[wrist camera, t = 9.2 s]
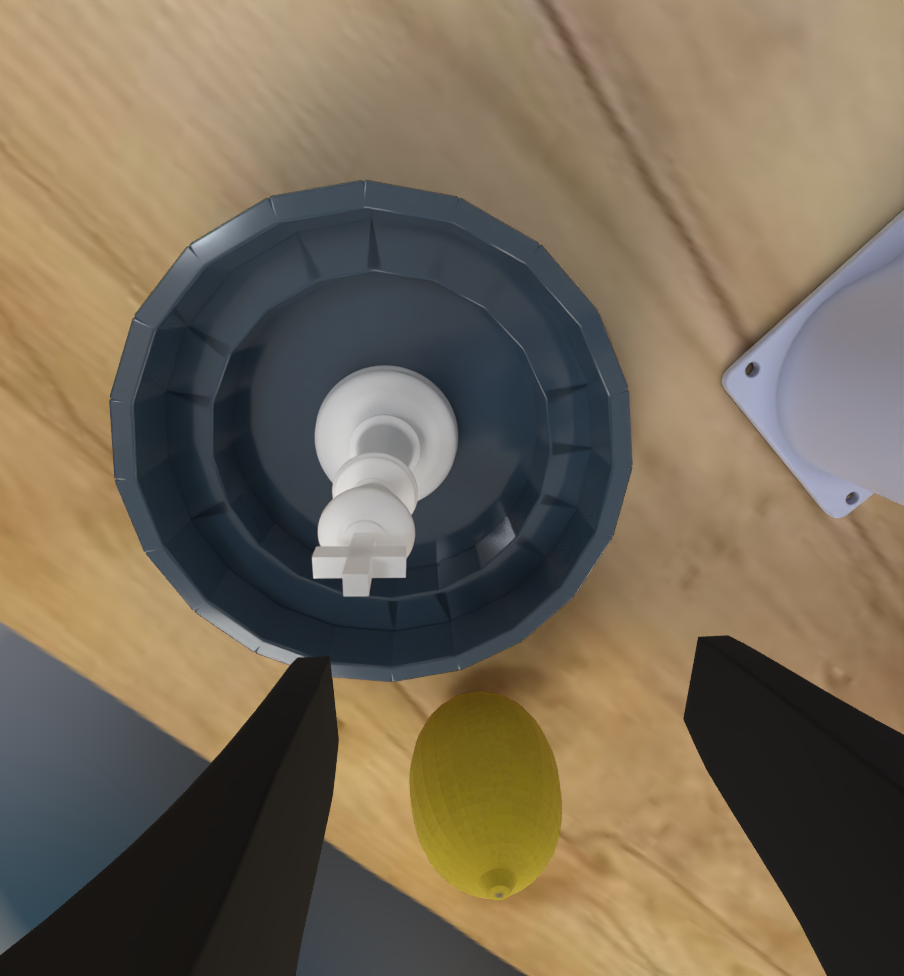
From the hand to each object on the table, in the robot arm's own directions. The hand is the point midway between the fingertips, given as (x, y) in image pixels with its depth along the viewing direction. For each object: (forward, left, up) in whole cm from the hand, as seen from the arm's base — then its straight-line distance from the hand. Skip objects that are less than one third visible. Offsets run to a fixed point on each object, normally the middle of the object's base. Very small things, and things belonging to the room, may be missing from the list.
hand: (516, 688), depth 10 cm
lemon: (+7, +7, -11) cm, 14 cm away
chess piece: (0, -4, -10) cm, 11 cm away
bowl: (0, -4, -10) cm, 11 cm away
